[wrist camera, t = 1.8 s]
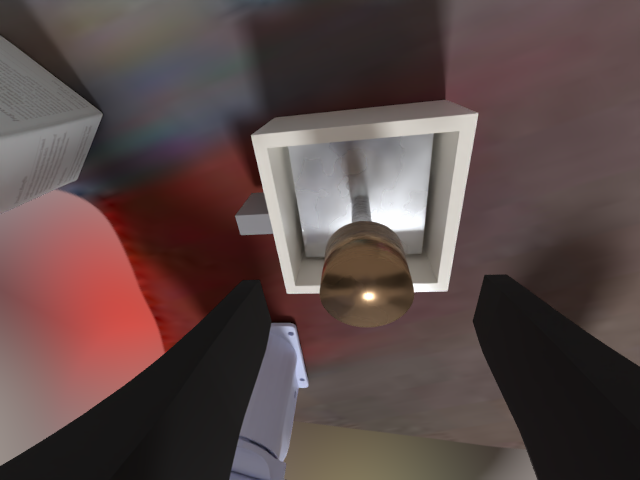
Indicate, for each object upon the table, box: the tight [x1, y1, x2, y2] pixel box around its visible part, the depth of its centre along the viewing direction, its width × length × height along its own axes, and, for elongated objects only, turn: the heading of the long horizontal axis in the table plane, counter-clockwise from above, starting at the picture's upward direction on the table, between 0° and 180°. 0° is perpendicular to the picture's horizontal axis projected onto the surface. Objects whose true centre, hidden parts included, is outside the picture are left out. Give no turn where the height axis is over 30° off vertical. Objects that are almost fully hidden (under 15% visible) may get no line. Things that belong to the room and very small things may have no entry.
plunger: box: [288, 133, 434, 327], centre depth 13 cm, size 7×7×8 cm
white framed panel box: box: [235, 100, 478, 294], centre depth 16 cm, size 9×11×4 cm
